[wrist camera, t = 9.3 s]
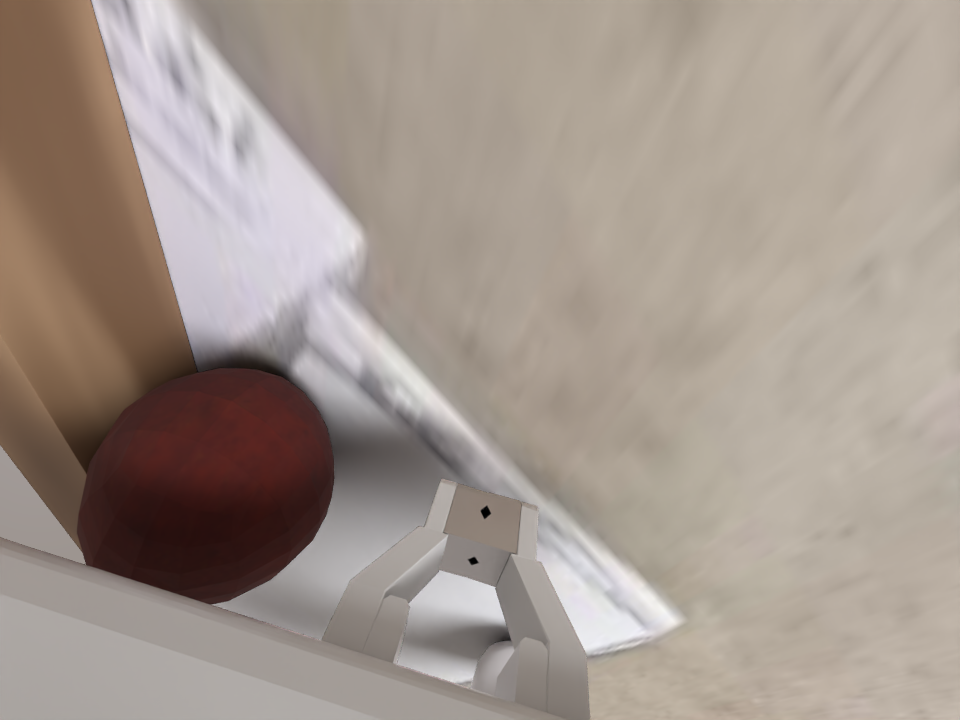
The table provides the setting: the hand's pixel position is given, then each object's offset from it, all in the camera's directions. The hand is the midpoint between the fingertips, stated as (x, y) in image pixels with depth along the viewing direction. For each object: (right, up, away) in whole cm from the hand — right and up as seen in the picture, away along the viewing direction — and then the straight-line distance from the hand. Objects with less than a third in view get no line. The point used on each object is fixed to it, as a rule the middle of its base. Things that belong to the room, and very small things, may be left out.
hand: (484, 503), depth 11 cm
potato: (-8, +2, +4) cm, 10 cm away
